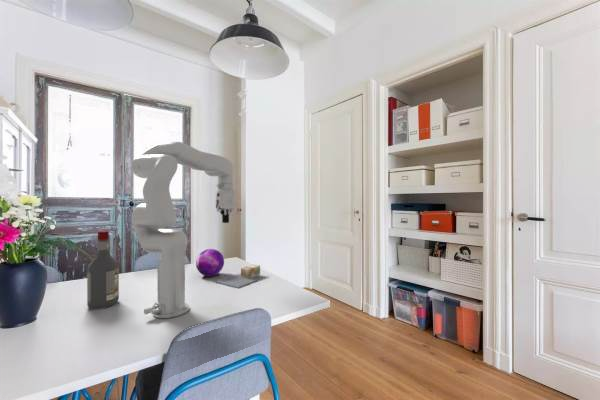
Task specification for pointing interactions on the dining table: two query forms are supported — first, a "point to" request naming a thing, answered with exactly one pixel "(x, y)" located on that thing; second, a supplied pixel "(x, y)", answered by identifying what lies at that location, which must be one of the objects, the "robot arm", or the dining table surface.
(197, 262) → the decorative orb
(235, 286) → the slate mat
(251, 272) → the maple block
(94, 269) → the liquor
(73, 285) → the dining table surface
